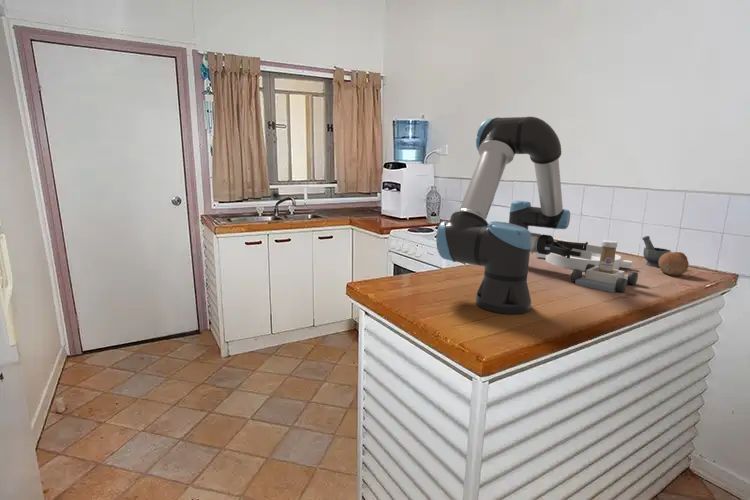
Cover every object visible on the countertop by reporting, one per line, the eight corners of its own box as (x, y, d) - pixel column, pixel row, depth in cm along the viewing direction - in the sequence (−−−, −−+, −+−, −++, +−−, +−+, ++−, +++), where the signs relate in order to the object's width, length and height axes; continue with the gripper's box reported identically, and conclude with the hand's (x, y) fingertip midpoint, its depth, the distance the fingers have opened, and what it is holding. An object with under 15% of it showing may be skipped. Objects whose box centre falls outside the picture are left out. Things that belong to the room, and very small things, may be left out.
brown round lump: (680, 282, 161) (699, 261, 157) (670, 279, 155) (689, 257, 152) (658, 268, 168) (675, 248, 164) (648, 265, 162) (665, 243, 159)
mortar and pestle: (672, 266, 174) (677, 238, 172) (663, 269, 169) (668, 240, 166) (643, 261, 183) (647, 234, 181) (633, 263, 178) (638, 236, 175)
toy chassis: (619, 294, 133) (622, 280, 132) (569, 282, 145) (570, 270, 144) (637, 283, 147) (639, 270, 146) (590, 273, 158) (591, 262, 157)
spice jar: (600, 280, 144) (606, 241, 141) (594, 276, 148) (600, 239, 145) (614, 280, 143) (620, 242, 141) (608, 277, 148) (613, 240, 145)
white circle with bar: (532, 257, 186) (533, 247, 185) (585, 255, 192) (586, 245, 191) (575, 273, 159) (577, 261, 158) (635, 271, 166) (637, 259, 165)
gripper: (553, 249, 170) (609, 258, 155) (523, 257, 154) (583, 269, 138) (555, 231, 169) (612, 239, 154) (525, 237, 152) (586, 246, 137)
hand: (598, 253), depth 146 cm, fingers open, 13 cm apart
